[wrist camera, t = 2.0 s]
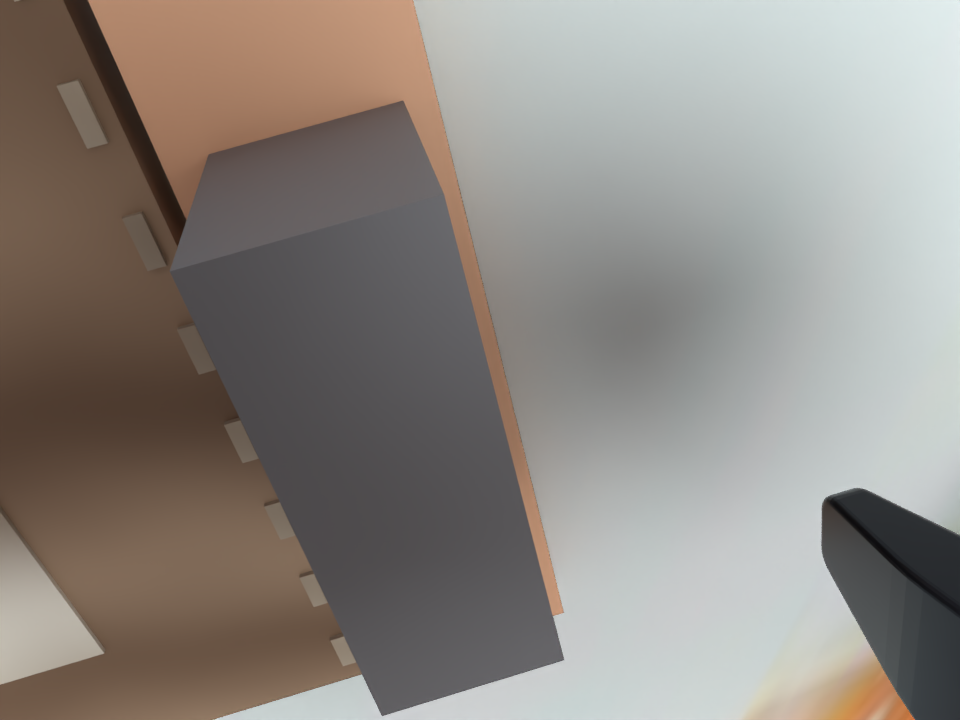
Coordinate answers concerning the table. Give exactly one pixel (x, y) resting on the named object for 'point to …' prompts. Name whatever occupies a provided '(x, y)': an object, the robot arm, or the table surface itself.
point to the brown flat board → (123, 428)
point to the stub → (350, 322)
